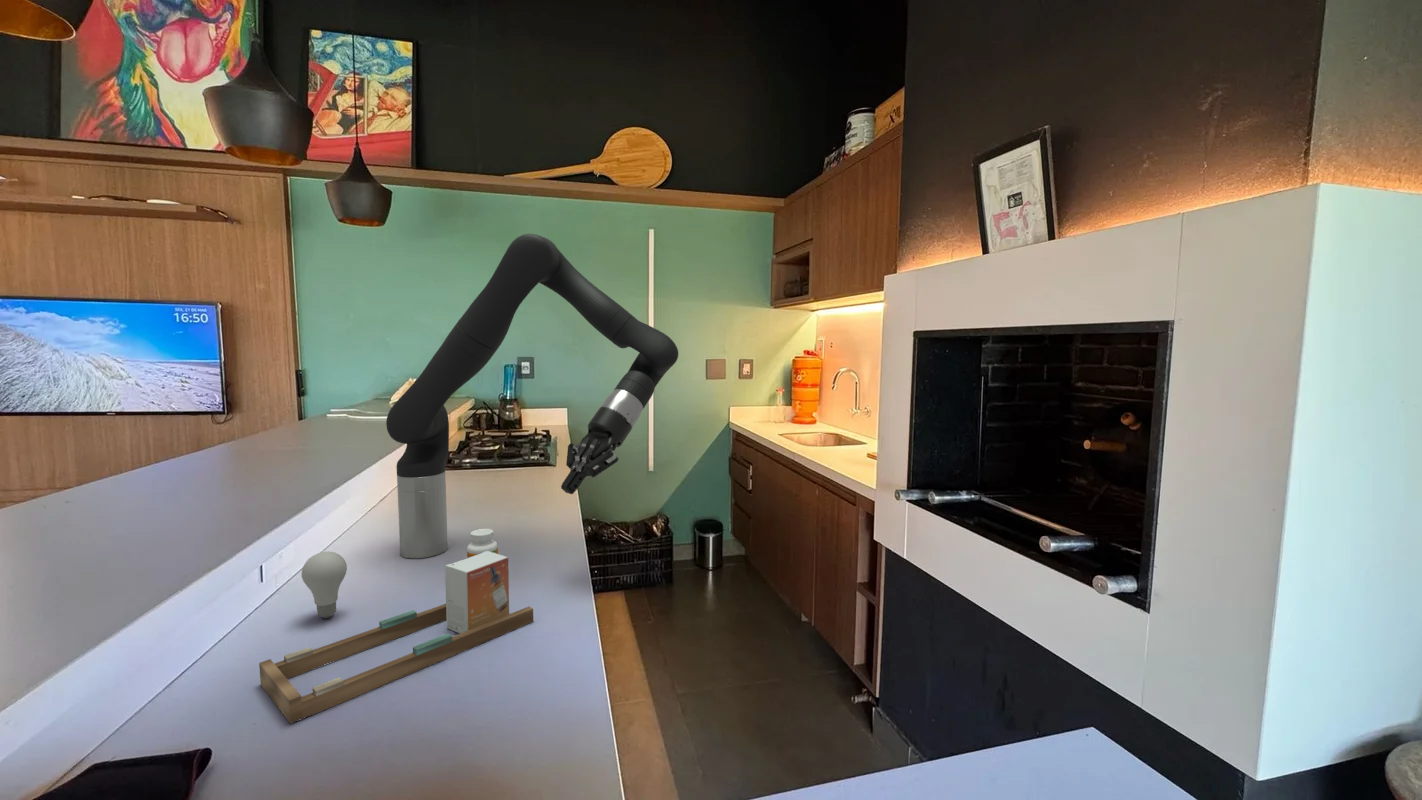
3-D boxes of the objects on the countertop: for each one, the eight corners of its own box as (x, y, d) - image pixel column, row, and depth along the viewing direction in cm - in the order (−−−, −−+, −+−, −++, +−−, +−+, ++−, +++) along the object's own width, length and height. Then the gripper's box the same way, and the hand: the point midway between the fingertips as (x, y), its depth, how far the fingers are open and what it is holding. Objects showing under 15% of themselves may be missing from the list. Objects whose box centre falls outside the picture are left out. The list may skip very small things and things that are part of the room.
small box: (467, 638, 88) (465, 572, 87) (445, 628, 91) (443, 564, 90) (510, 618, 95) (509, 556, 94) (488, 609, 98) (487, 549, 97)
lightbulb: (357, 612, 96) (354, 548, 95) (322, 629, 91) (318, 561, 90) (331, 606, 98) (327, 544, 97) (295, 622, 93) (291, 556, 92)
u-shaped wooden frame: (260, 684, 76) (259, 662, 76) (492, 599, 102) (491, 583, 102) (290, 724, 68) (289, 700, 68) (533, 621, 94) (533, 603, 94)
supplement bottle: (488, 588, 106) (486, 537, 105) (461, 586, 107) (460, 535, 106) (504, 577, 111) (502, 528, 110) (479, 574, 113) (477, 526, 112)
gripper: (583, 403, 115) (532, 474, 107) (629, 408, 107) (577, 485, 98) (604, 426, 120) (556, 496, 111) (649, 432, 111) (601, 508, 103)
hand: (566, 491), depth 105 cm, fingers closed
